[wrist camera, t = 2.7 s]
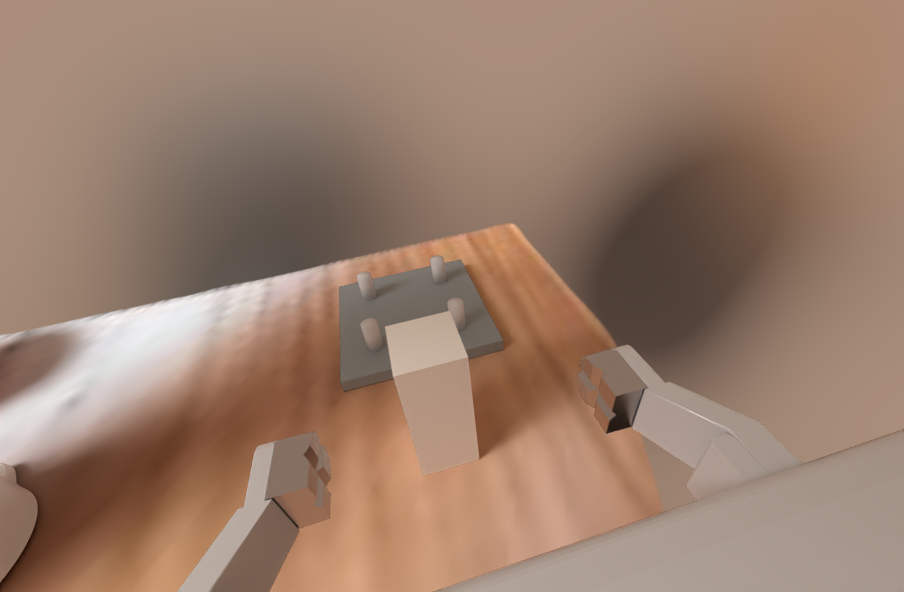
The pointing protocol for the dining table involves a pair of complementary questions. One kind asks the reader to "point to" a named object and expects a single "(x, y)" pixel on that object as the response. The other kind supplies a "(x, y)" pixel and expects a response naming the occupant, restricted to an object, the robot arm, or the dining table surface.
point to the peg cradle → (407, 316)
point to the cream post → (434, 390)
